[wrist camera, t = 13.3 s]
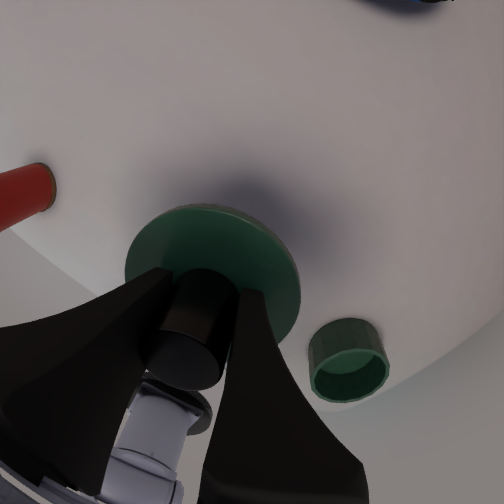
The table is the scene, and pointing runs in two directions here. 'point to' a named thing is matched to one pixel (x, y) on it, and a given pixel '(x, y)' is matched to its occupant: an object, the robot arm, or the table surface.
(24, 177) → the can
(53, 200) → the coaster
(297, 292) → the lid
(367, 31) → the table surface
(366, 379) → the green pot
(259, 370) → the robot arm
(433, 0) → the ornament
